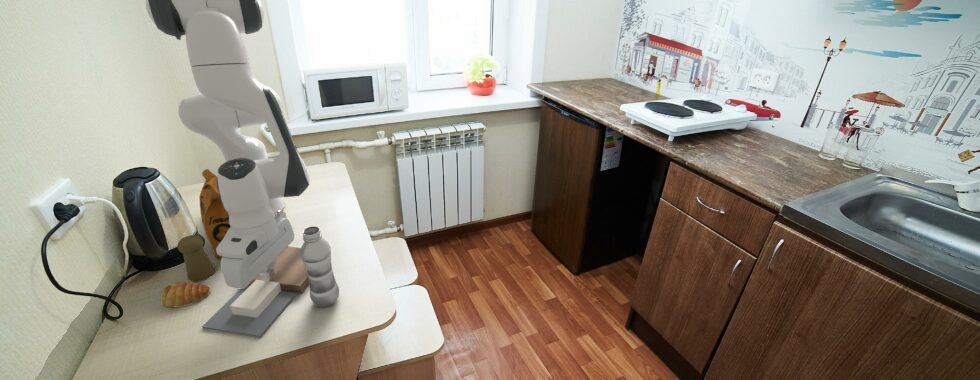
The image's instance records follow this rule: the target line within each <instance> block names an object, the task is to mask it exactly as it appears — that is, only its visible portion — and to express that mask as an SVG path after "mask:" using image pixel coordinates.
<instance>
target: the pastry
mask: <svg viewBox="0 0 980 380" xmlns="http://www.w3.org/2000/svg"><path fill="white" fill-rule="evenodd" d="M210 293H211V287H210V286H209V285H208V284H205V283H202V282H192V281H183V282H180V281H178V282H175V283H174V284H173V285H171V284H168V285H165V286H164V287H163V289H162V291H161V295H160V304H161V306H162V307H166V308H170V309H172V308H179V307H184V306H188V305H191V304H195V303H198V302H200V301H202V300H204V299H206V298H207V297H208V296H209V294H210Z"/></svg>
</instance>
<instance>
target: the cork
mask: <svg viewBox="0 0 980 380" xmlns="http://www.w3.org/2000/svg"><path fill="white" fill-rule="evenodd" d="M203 247H204V240H203V238H202V237H200V235H197V234H196V235H194V234H193V235H191V234H190V235H187V236H185V237H183V238H180V239H179V240H178V242H177V250H178V251H179V252H180V253H181V254H182V255H183V260H184V264H185V270H186V274H187V280H189V282H196V283H199V282H203V281H206V280H208V279H210V278H212V276H214V275H215V274H216V272H217V270H216V267H215V265H214V264H213V263H212V260H211V259H210V257H209V255H208V254H207V252H206V251H205V249H204V248H203Z"/></svg>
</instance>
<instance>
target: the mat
mask: <svg viewBox="0 0 980 380" xmlns="http://www.w3.org/2000/svg"><path fill="white" fill-rule="evenodd" d="M248 287H249V286H247V287H246V288H244V289H238V291H237V292H236V293H235V294H234V295H233V296H232V297H230V299H228V300H227V301H226V302H225V303H224V304H223V306H222V307H221V306H220V308H219V309H218V310H217V311H216V312H215V313H214V314H213V315H212V316H211V317H210V318H209V319H208V320H207V321H206V322H205V323H204V324H203V325H202V326H201V329H204V330H210V331H216V332H223V333H228V334H235V335H240V336H241V335H242V336H249V337H254V338H260V339H261V338H262V337H263V336H264V335H265V334H266V332H267V331H268V330H269V329H270V328H271V327H272V325H273V324H274V323H275V321H277V319H278V318H279V317H280V316H281V314H282V313H283V312H284V311H285V310H286V308H287V307H288V306H289V305H290V304H291V303H292V301H293V300H294V299H295V298H296V297H297V295H298V293H294V292H287V291H281V292H280V293H279V294H278V295H277V296H276V297H275V298H274V299H273V301H272V302H271V303H270V304H269V305H268V306H267V307H266V308H265V310H264V311H263V312H262V313H261V314H260V315H259V316H258V317H257V318H255V317H249V316H242V315H236V314H233V313H232V310H231V307H230V305H231V304H232V303H233V302H234V301H235V300H236V299H237V298H238V297H239V296H240V295H241V294H242V293H243V292H244V291H245V290H246V289H247V288H248Z"/></svg>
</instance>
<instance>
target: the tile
mask: <svg viewBox="0 0 980 380" xmlns="http://www.w3.org/2000/svg"><path fill="white" fill-rule="evenodd" d="M280 292H281V288H280V284H279V283H277V282H270V281H263V280H256V281H255V282H254V283H252V284H251V285H250V286H249V287H248V288H247V289H246V290H245V291H244V292H243V293H242V294H241V295H240V296H239V297H238V298H237V299H236V300H235V301H234V302H233V303H232V304H231V305H230V307H231V310H232V313H233V314H236V315H242V316H249V317H255V318H257V317H258V316H259V315H260V314H261V313H262V312H263V311H264V310H265V308H266V307H267V306H268V305H269V304H270V303H271V302H272V301H273V299H274V298H275V297H276V296H277V295H278V294H279V293H280Z"/></svg>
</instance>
